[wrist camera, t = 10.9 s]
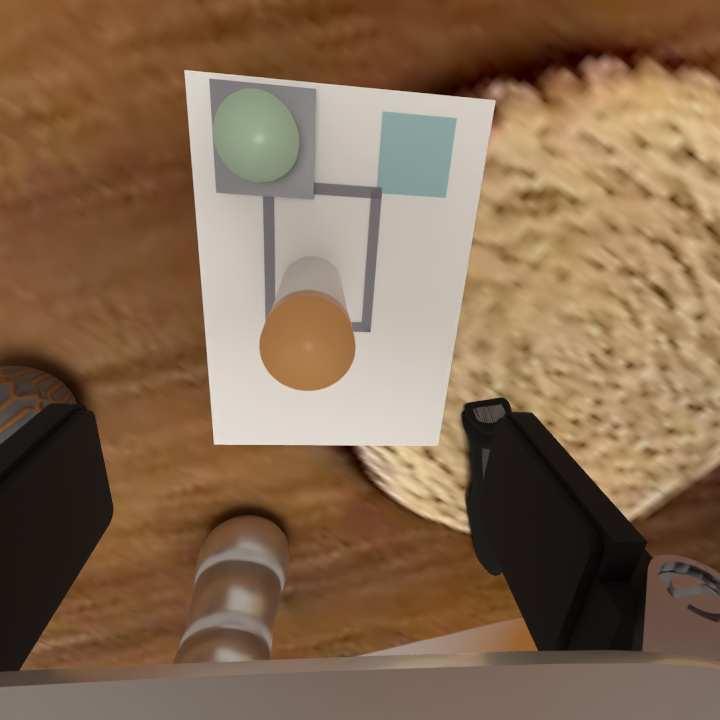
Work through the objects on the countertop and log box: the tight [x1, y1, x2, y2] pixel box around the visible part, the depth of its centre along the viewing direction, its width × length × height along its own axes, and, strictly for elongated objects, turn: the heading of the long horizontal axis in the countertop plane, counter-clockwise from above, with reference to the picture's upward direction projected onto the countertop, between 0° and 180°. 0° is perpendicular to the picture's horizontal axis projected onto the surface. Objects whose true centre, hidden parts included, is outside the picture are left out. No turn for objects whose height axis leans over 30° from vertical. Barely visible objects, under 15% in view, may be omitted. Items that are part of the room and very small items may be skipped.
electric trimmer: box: [462, 398, 512, 576], centre depth 33 cm, size 4×15×3 cm, turn 7°
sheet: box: [184, 70, 496, 446], centre depth 26 cm, size 16×22×1 cm
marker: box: [259, 256, 356, 391], centre depth 21 cm, size 4×4×10 cm
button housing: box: [209, 79, 316, 199], centre depth 22 cm, size 5×5×2 cm
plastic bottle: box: [173, 515, 290, 664], centre depth 25 cm, size 6×7×20 cm
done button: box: [213, 88, 300, 182], centre depth 19 cm, size 4×4×2 cm
